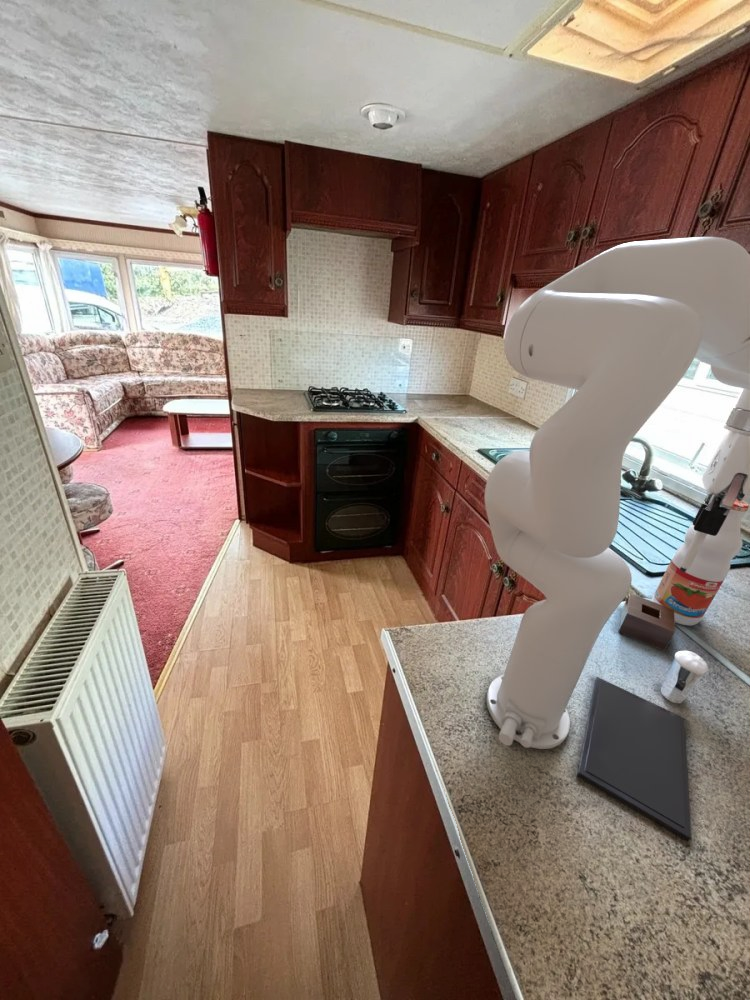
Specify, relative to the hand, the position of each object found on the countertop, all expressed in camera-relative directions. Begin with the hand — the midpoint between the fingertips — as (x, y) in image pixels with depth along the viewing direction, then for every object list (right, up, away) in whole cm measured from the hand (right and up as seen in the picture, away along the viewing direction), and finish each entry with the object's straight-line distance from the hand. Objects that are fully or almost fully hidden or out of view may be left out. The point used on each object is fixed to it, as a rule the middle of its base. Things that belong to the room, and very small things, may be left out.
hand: (703, 529), depth 68 cm
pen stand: (0, -22, +16) cm, 27 cm away
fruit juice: (+12, -20, +22) cm, 32 cm away
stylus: (-1, -8, +4) cm, 9 cm away
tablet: (-17, -32, -8) cm, 37 cm away
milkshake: (-5, -29, +1) cm, 30 cm away
